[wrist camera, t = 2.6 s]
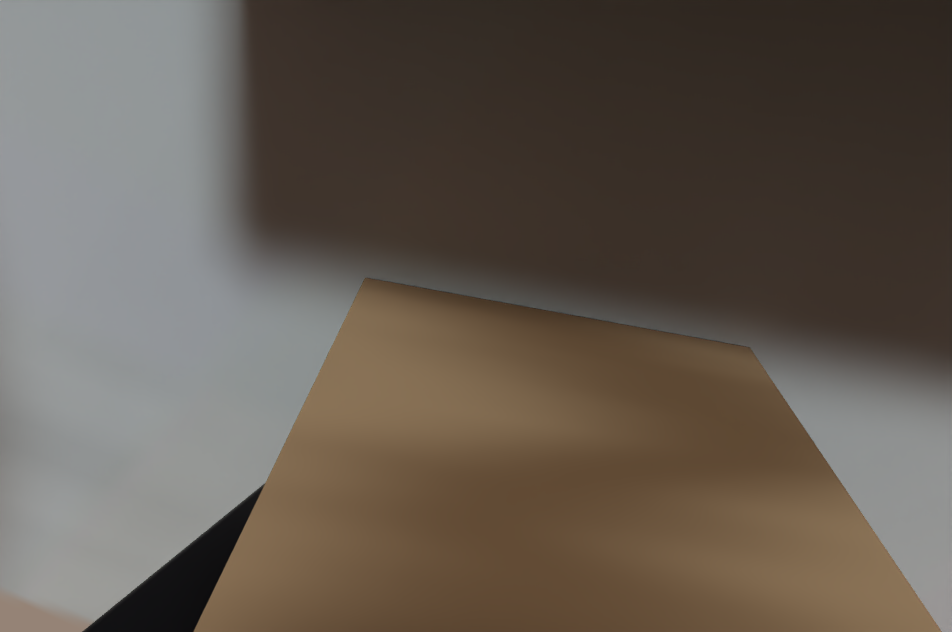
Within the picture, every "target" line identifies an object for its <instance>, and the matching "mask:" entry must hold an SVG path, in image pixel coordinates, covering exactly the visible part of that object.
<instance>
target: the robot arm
mask: <svg viewBox="0 0 952 632" xmlns="http://www.w3.org/2000/svg"><path fill="white" fill-rule="evenodd" d="M264 485H265V484H264ZM264 485H262V486H261V487H260V488H259V489H257V490H256V491H255V492H254V493H252V494H251V495H250V496H249V497H248V498H246V499H245V500H244V501H243V502H241V503H240V504H239V505H238V506H236V507H235V508H234V509H233V510H232V511H230V512H229V513H228V514H227V515H225V516H224V517H223V518H222V519H220V520H219V521H218V522H217V523H216V524H214V525H213V526H212V527H211V528H209V529H208V530H207V531H206V532H204V533H203V534H202V535H201V536H200V537H198V538H197V539H196V540H195V541H193V542H192V543H191V544H190V545H188V546H187V547H186V548H185V549H184V550H182V551H181V552H180V553H179V554H177V555H176V556H175V557H174V558H172V559H171V560H170V561H169V562H168V563H166V564H165V565H164V566H163V567H161V568H160V569H159V570H158V571H156V572H155V573H154V574H153V575H152V576H150V577H149V578H148V579H147V580H145V581H144V582H143V583H142V584H140V585H139V586H138V587H137V588H136V589H134V590H133V591H132V592H131V593H129V594H128V595H127V596H126V597H124V598H123V599H122V600H121V601H120V602H118V603H117V604H116V605H115V606H113V607H112V608H111V609H110V610H108V611H107V612H106V613H105V614H104V615H102V616H101V617H100V618H99V619H97V620H96V621H95V622H94V623H92V624H91V625H90V626H89V627H88V628H86V629H85V630H84V631H83V632H194V630H195V628H196V626H197V623H198V621H199V619H200V617H201V615H202V613H203V611H204V609H205V607H206V605H207V603H208V601H209V599H210V597H211V595H212V593H213V590H214V588H215V586H216V584H217V582H218V580H219V578H220V576H221V574H222V572H223V570H224V568H225V566H226V564H227V562H228V560H229V557H230V555H231V553H232V551H233V549H234V547H235V545H236V543H237V541H238V539H239V537H240V535H241V533H242V531H243V529H244V527H245V524H246V522H247V520H248V518H249V516H250V514H251V512H252V510H253V508H254V506H255V504H256V502H257V500H258V498H259V496H260V494H261V491H262V489H263V487H264Z"/></svg>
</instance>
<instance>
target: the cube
mask: <svg viewBox="0 0 952 632" xmlns="http://www.w3.org/2000/svg"><path fill="white" fill-rule="evenodd" d="M194 632H942V631H941V630H940V628H939V627H938V625H937V624H936V623H935V621H934V620H933V618H932V617H931V615H930V614H929V612H928V611H927V609H926V608H925V606H924V605H923V603H922V602H921V600H920V599H919V597H918V596H917V594H916V593H915V591H914V590H913V588H912V587H911V586H910V584H909V583H908V581H907V580H906V578H905V577H904V575H903V574H902V572H901V571H900V569H899V568H898V566H897V565H896V563H895V562H894V560H893V559H892V557H891V556H890V554H889V553H888V551H887V550H886V549H885V547H884V546H883V544H882V543H881V541H880V540H879V538H878V537H877V535H876V534H875V532H874V531H873V529H872V528H871V526H870V525H869V523H868V522H867V520H866V519H865V517H864V516H863V514H862V513H861V512H860V510H859V509H858V507H857V506H856V504H855V503H854V501H853V500H852V498H851V497H850V495H849V494H848V492H847V491H846V489H845V488H844V486H843V485H842V483H841V482H840V480H839V479H838V477H837V476H836V475H835V473H834V472H833V470H832V469H831V467H830V466H829V464H828V463H827V461H826V460H825V458H824V457H823V455H822V454H821V452H820V451H819V449H818V448H817V446H816V445H815V443H814V442H813V441H812V439H811V438H810V436H809V435H808V433H807V432H806V430H805V429H804V427H803V426H802V424H801V423H800V421H799V420H798V418H797V417H796V415H795V414H794V412H793V411H792V409H791V408H790V406H789V405H788V404H787V402H786V401H785V399H784V398H783V396H782V395H781V393H780V392H779V390H778V389H777V387H776V386H775V384H774V383H773V381H772V380H771V378H770V377H769V375H768V374H767V372H766V371H765V369H764V368H763V367H762V365H761V364H760V362H759V361H758V359H757V358H756V356H755V355H754V353H753V352H752V350H751V349H750V347H744V346H739V345H733V344H728V343H722V342H717V341H711V340H706V339H700V338H695V337H689V336H684V335H678V334H673V333H667V332H662V331H656V330H651V329H645V328H640V327H634V326H629V325H623V324H618V323H612V322H607V321H601V320H596V319H590V318H585V317H579V316H574V315H568V314H563V313H557V312H552V311H546V310H541V309H535V308H530V307H524V306H519V305H513V304H508V303H502V302H497V301H491V300H486V299H480V298H475V297H469V296H464V295H458V294H453V293H447V292H442V291H436V290H431V289H425V288H419V287H414V286H408V285H403V284H397V283H392V282H386V281H381V280H375V279H370V278H365V279H364V281H363V283H362V285H361V287H360V289H359V291H358V293H357V295H356V298H355V300H354V302H353V304H352V306H351V308H350V310H349V312H348V314H347V316H346V318H345V320H344V322H343V324H342V326H341V328H340V331H339V333H338V335H337V337H336V339H335V341H334V343H333V345H332V347H331V349H330V351H329V353H328V355H327V357H326V359H325V362H324V364H323V366H322V368H321V370H320V372H319V374H318V376H317V378H316V380H315V382H314V384H313V386H312V388H311V390H310V392H309V395H308V397H307V399H306V401H305V403H304V405H303V407H302V409H301V411H300V413H299V415H298V417H297V419H296V421H295V423H294V425H293V428H292V430H291V432H290V434H289V436H288V438H287V440H286V442H285V444H284V446H283V448H282V450H281V452H280V454H279V456H278V458H277V461H276V463H275V465H274V467H273V469H272V471H271V473H270V475H269V477H268V479H267V481H266V483H265V485H264V487H263V489H262V491H261V494H260V496H259V498H258V500H257V502H256V504H255V506H254V508H253V510H252V512H251V514H250V516H249V518H248V520H247V522H246V524H245V527H244V529H243V531H242V533H241V535H240V537H239V539H238V541H237V543H236V545H235V547H234V549H233V551H232V553H231V555H230V557H229V560H228V562H227V564H226V566H225V568H224V570H223V572H222V574H221V576H220V578H219V580H218V582H217V584H216V586H215V588H214V590H213V593H212V595H211V597H210V599H209V601H208V603H207V605H206V607H205V609H204V611H203V613H202V615H201V617H200V619H199V621H198V623H197V626H196V628H195V630H194Z"/></svg>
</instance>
